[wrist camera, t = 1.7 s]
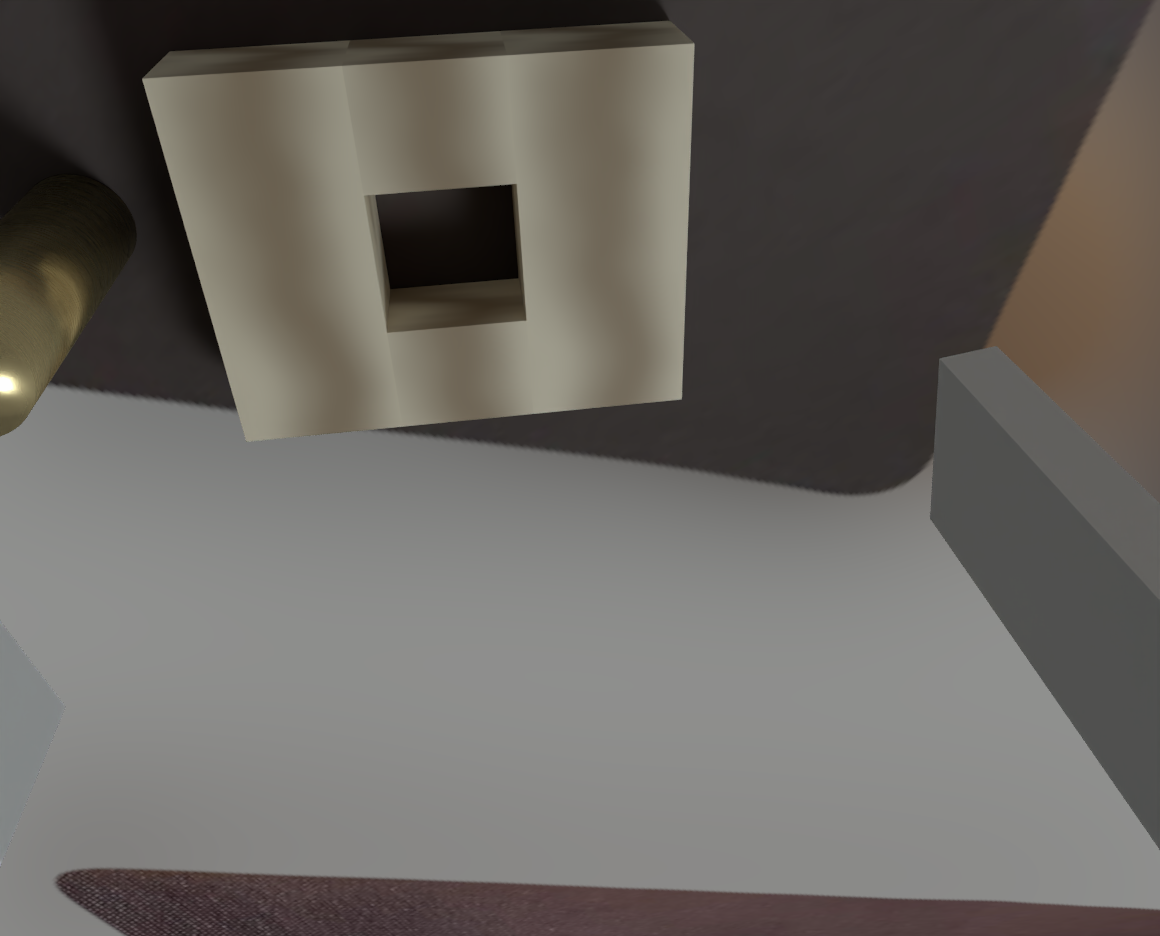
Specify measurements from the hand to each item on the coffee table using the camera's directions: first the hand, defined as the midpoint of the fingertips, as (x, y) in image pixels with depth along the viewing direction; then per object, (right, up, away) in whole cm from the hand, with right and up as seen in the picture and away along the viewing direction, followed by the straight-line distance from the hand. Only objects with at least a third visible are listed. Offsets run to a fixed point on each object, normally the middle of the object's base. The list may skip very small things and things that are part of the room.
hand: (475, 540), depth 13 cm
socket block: (-4, +11, +25) cm, 28 cm away
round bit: (-18, +10, +23) cm, 31 cm away
